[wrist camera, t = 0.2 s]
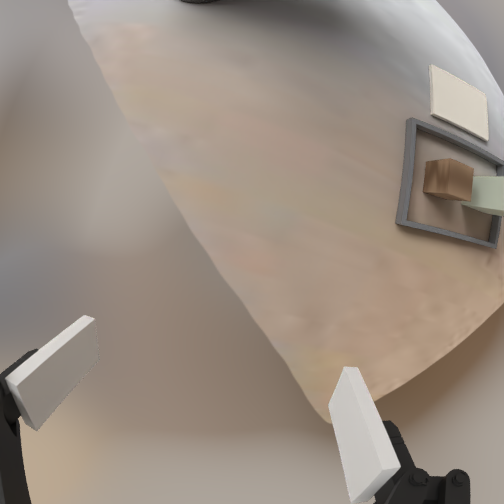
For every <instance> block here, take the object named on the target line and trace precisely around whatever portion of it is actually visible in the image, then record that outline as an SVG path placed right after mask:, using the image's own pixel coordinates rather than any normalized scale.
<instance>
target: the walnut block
mask: <svg viewBox="0 0 504 504" xmlns="http://www.w3.org/2000/svg"><path fill="white" fill-rule="evenodd" d="M473 173H474V168H471V167H469V166H467V165H465V164H462V163H460V162H458V161H455V160H453V159H451V158H450V159H442V160H435V161H428V162H426V168H425V178H424V187H423V192H424V193H428V194H431V195H434V196H437V197H440V198H443V199H449V200H459V201H469V202H471V195H472V185H473Z"/></svg>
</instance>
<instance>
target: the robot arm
mask: <svg viewBox="0 0 504 504" xmlns="http://www.w3.org/2000/svg"><path fill="white" fill-rule="evenodd" d="M181 1H185V2H190V3H206V2H213V1H218V0H181ZM99 360H100V358H99V350H98V342H97V332H96V321H95V319H94V318H92V317H89V316H85V315H84V316H83V317H81V318H80V319H78V320H77V321H76V322H74V324H72V325H71V326H69V327H68V328H67V329H65V330H64V331H63V332H61V333H60V334H59V335H58V336H56V337H55V338H54V339H52V340H51V341H50V342H49V343H47V344H46V345H45V346H44V347H42V348H41V349H40V350H38V349H34V350H32V351H29V352H27V353H26V354H25V355H24V356H22V357H21V358H20V359H18V360H17V361H16V362H15V363H14V364H12V365H11V366H10V367H9V368H7V369H6V370H5V371H3V372H2V373H1V374H0V504H31V500H30V496H29V491H28V487H27V482H26V476H25V470H24V464H23V457H22V448H21V438H20V424H19V420H18V418H19V417H20V416H22V418H23V420H24V422H25V424H27V425H28V426H30V427H31V428H33V429H34V430H36V431H38V429H39V428H40V427H41V426H42V425H43V423H44V422H45V421H46V420H47V419H48V418H49V416H50V415H51V414H52V413H53V412H54V411H55V409H56V408H57V407H58V406H59V405H60V404H61V402H62V401H63V400H64V399H65V398H66V397H67V396H68V394H69V393H70V392H71V391H72V390H73V389H74V388H75V387H76V385H77V384H78V383H79V382H80V381H81V380H82V379H83V377H84V376H85V375H86V374H87V373H88V372H89V371H90V370H91V369H92V368H93V367H94V365H95V364H96V363H97V362H98V361H99ZM328 407H329V411H330V415H331V419H332V423H333V427H334V431H335V435H336V439H337V444H338V448H339V452H340V457H341V461H342V466H343V469H344V474H345V479H346V484H347V488H348V493H349V498H350V503H351V504H352V503H360V502H367V501H368V500H369V499H371V498H372V497H373V496H375V500H376V502H375V503H373V504H470V479H469V476H468V474H467V473H466V472H464V471H462V470H459V469H454V470H452V471H450V472H449V473H448V474H447V475H446V476H445V477H440V476H429V474H428V473H427V472H426V471H424V470H423V469H420V468H416V467H415V465H414V462H413V460H412V458H411V456H410V454H409V451H408V449H407V447H406V445H405V444H404V440H403V438H402V437H401V434H400V432H399V430H398V427H396V426H395V425H394V424H393V423H392V422H391V421H382V420H381V418H380V416H379V413H378V411H377V409H376V406H375V405H374V402H373V400H372V398H371V395H370V393H369V391H368V389H367V387H366V384H365V382H364V380H363V378H362V376H361V374H360V371H359V369H358V367H344V368H343V371H342V373H341V376H340V378H339V381H338V383H337V386H336V388H335V390H334V393H333V395H332V397H331V400H330V402H329V404H328Z"/></svg>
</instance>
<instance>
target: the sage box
mask: <svg viewBox="0 0 504 504" xmlns="http://www.w3.org/2000/svg"><path fill="white" fill-rule="evenodd" d="M461 205H464V206H467V207H470V208H472V209H475V210H478V211H481V212H483V213H487V214H492V215H498V216H503V217H504V176H473V185H472V195H471V202H469V201H462V204H461Z"/></svg>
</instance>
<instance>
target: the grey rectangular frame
mask: <svg viewBox="0 0 504 504" xmlns="http://www.w3.org/2000/svg"><path fill="white" fill-rule="evenodd" d="M416 128H417V129H419V130H422V131H425V132H427V133H430V134H432V135H435V136H437V137H439V138H442V139H444V140H447V141H449V142H451V143H453V144H456V145H458V146H460V147H462V148H464V149H466V150H468V151H470V152H473V153H475V154H477V155H478V156H480V157H482V158H484V159H486V160H488V161H490V162H492V163H494V164H495V165H497V176H504V161H503V160H501V159H499V158H497V157H496V156H494V155H492V154H490V153H489V152H487V151H485V150H483V149H481V148H479V147H478V146H476V145H474V144H472V143H470V142H468V141H466V140H464V139H462V138H460V137H457V136H455V135H453V134H451V133H449V132H447V131H444V130H442V129H440V128H437V127H435V126H433V125H430V124H428V123H425V122H423V121H420V120H417V119H415V118H410V119H408V120H406V139H405V152H404V163H403V173H402V182H401V189H400V197H399V204H398V210H397V216H396V222H395V223H397V224H400V225H405V226H409V227H414V228H418V229H422V230H426V231H431V232H435V233H439V234H443V235H447V236H451V237H455V238H458V239H462V240H466V241H470V242H473V243H477V244H481V245H484V246H488V247H491V248H495V249H496V248H497V243H498V237H499V232H500V225H501V219H502V216H498V215H493V218H492V225H491V231H490V236H489V242H487V241H483V240H480V239H476V238H473V237H469V236H466V235H462V234H459V233H455V232H451V231H448V230H444V229H440V228H436V227H432V226H428V225H424V224H420V223H416V222H412V221H407V220H406V219H407V213H408V207H409V200H410V193H411V186H412V177H413V168H414V156H415V142H416Z"/></svg>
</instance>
